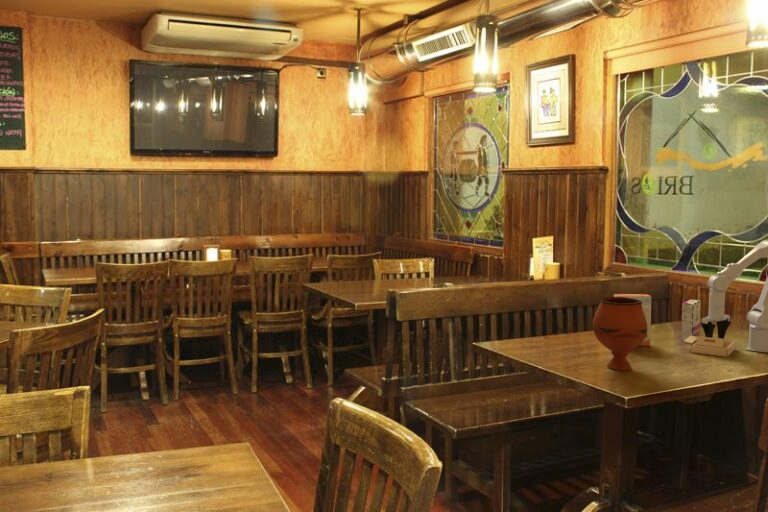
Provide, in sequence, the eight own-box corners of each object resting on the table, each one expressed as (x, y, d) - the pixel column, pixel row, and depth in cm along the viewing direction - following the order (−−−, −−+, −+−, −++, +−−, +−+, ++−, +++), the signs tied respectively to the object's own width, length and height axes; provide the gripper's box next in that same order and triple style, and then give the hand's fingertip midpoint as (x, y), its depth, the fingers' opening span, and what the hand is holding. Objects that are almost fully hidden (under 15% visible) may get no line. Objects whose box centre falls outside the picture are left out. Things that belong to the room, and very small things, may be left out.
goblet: (604, 358, 292) (606, 293, 289) (654, 366, 280) (657, 299, 277) (582, 368, 277) (584, 300, 274) (634, 377, 265) (637, 306, 262)
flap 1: (690, 335, 315) (690, 336, 315) (683, 340, 304) (683, 341, 304) (698, 337, 313) (698, 338, 313) (691, 342, 302) (691, 343, 302)
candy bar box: (687, 336, 331) (689, 299, 329) (699, 338, 328) (701, 300, 326) (680, 341, 322) (681, 302, 320) (692, 342, 319) (694, 303, 317)
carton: (735, 349, 308) (735, 340, 307) (727, 357, 294) (728, 348, 294) (700, 345, 315) (701, 337, 315) (691, 352, 301) (692, 344, 301)
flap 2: (697, 336, 301) (697, 336, 301) (723, 339, 296) (723, 339, 295) (696, 344, 300) (696, 343, 300) (722, 347, 295) (722, 347, 294)
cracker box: (646, 343, 318) (648, 293, 315) (650, 346, 312) (652, 296, 309) (612, 342, 319) (613, 293, 317) (615, 346, 313) (616, 295, 311)
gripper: (713, 308, 297) (712, 343, 298) (737, 305, 304) (735, 339, 306) (698, 306, 303) (696, 340, 304) (721, 303, 310) (719, 336, 312)
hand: (715, 339), depth 305 cm, fingers open, 7 cm apart
